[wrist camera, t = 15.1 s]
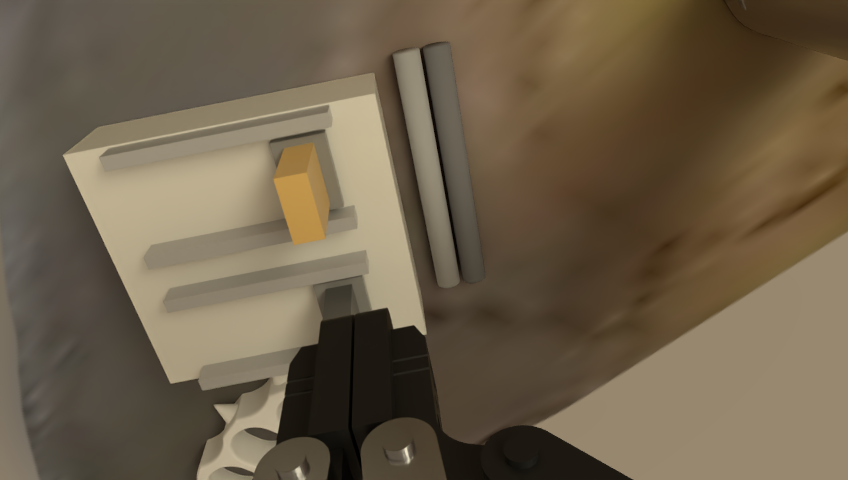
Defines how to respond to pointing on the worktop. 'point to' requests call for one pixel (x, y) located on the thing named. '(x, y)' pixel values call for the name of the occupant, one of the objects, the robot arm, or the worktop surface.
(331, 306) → the toggle
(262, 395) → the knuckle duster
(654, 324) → the worktop surface
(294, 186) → the breaker toggle
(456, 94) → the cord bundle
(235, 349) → the breaker housing
